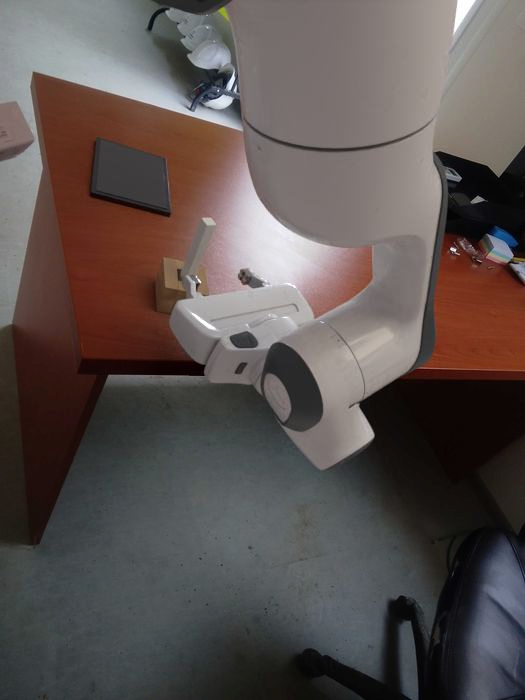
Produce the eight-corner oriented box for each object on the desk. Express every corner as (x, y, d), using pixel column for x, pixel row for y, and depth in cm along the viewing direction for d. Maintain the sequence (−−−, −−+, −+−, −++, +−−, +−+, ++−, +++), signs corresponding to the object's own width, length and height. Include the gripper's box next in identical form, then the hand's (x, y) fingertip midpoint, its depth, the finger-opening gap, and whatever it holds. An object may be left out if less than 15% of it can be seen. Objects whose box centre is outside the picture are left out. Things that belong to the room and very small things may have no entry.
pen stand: (156, 311, 67) (165, 287, 64) (155, 281, 72) (163, 256, 68) (199, 318, 70) (210, 295, 67) (195, 289, 74) (205, 266, 71)
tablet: (169, 217, 85) (171, 212, 84) (90, 196, 79) (91, 191, 78) (164, 162, 97) (166, 157, 96) (95, 141, 91) (96, 136, 90)
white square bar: (175, 304, 70) (207, 225, 60) (171, 297, 71) (201, 217, 61) (184, 302, 71) (216, 224, 61) (179, 295, 72) (210, 217, 62)
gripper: (337, 319, 61) (280, 251, 67) (215, 351, 48) (156, 263, 54) (315, 349, 66) (263, 283, 71) (197, 385, 53) (144, 301, 58)
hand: (216, 275), depth 62 cm, fingers open, 8 cm apart
